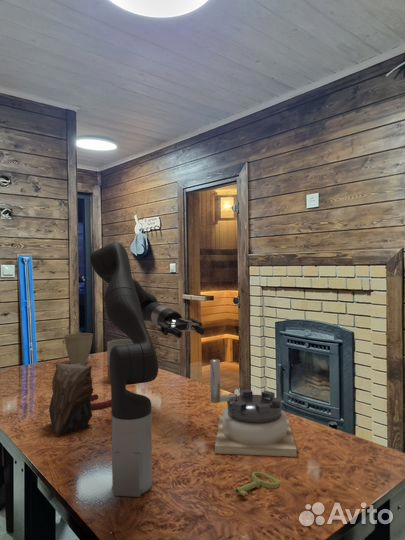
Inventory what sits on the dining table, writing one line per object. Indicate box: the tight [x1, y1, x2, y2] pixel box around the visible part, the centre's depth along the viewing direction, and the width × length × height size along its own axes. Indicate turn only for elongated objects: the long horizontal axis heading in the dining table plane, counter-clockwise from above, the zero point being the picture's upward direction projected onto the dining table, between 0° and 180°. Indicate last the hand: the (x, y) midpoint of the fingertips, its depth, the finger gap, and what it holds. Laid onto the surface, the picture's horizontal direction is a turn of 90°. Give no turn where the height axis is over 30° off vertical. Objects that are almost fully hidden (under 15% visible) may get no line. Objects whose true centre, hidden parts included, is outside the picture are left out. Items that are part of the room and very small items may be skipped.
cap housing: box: [222, 407, 288, 445], centre depth 118 cm, size 19×19×5 cm
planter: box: [106, 338, 134, 383], centre depth 181 cm, size 13×13×18 cm
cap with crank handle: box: [209, 358, 283, 424], centre depth 119 cm, size 16×21×17 cm
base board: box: [214, 415, 298, 458], centre depth 118 cm, size 22×22×2 cm
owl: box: [48, 362, 94, 438], centre depth 129 cm, size 13×13×20 cm
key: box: [234, 471, 280, 497], centre depth 91 cm, size 7×12×2 cm, turn 149°
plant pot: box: [63, 332, 94, 366], centre depth 212 cm, size 15×15×16 cm
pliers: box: [90, 393, 112, 412], centre depth 144 cm, size 12×21×3 cm, turn 145°
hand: (192, 333), depth 124 cm, fingers open, 8 cm apart
